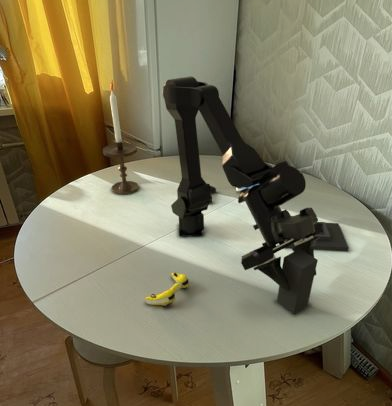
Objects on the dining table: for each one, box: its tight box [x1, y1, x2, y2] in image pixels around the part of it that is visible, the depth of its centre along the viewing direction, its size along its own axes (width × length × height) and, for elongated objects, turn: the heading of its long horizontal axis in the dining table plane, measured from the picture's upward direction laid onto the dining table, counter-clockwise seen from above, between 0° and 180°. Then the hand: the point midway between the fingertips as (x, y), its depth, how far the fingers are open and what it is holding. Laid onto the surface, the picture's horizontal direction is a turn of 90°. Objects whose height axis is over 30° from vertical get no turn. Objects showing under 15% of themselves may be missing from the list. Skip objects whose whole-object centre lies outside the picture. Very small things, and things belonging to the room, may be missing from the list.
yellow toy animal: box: [144, 272, 190, 307], centre depth 77 cm, size 10×6×4 cm, turn 148°
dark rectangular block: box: [276, 249, 319, 315], centre depth 72 cm, size 5×5×12 cm
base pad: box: [284, 221, 349, 252], centre depth 95 cm, size 16×12×3 cm
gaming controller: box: [209, 185, 217, 205], centre depth 116 cm, size 10×5×6 cm
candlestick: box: [102, 79, 140, 196], centre depth 112 cm, size 11×11×35 cm
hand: (302, 283), depth 70 cm, fingers open, 7 cm apart
